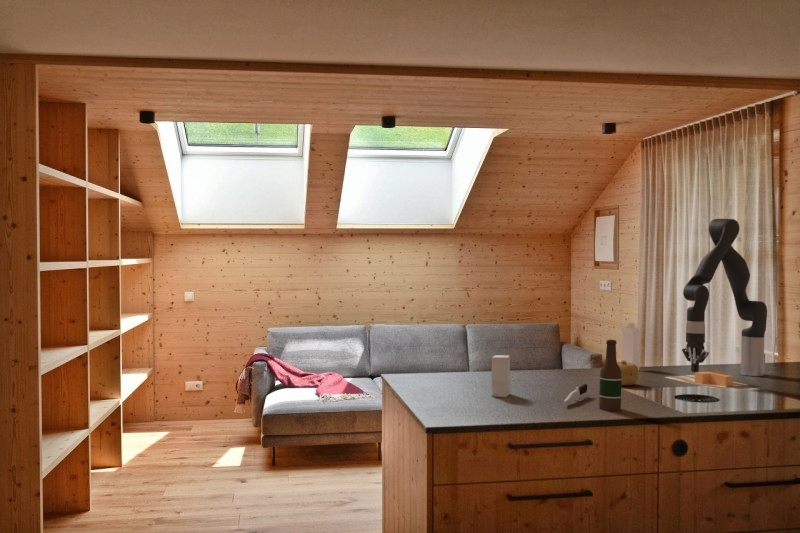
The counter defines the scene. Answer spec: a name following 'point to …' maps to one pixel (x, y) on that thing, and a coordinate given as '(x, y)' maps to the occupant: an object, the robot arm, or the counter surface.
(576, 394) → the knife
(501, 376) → the skincare box
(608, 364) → the beer bottle
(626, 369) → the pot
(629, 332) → the milk
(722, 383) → the t block
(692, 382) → the push board
